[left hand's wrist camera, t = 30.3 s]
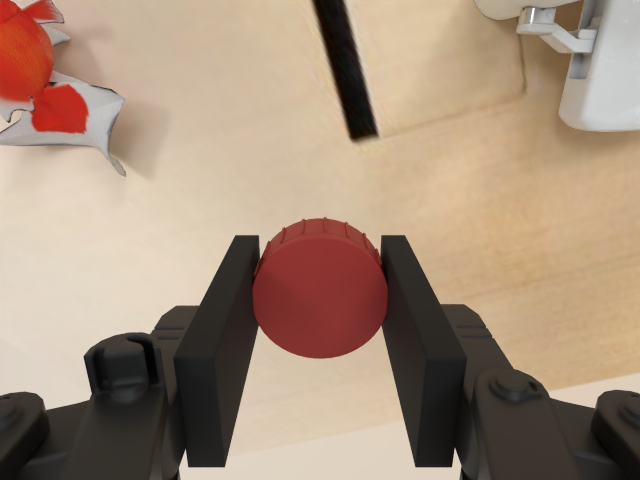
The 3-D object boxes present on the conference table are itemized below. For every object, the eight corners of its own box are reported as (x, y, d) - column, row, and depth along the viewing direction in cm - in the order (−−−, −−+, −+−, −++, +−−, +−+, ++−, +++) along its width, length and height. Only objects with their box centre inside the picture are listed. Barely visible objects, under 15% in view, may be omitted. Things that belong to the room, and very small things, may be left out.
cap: (374, 206, 14) (381, 223, 12) (390, 321, 15) (398, 349, 14) (244, 227, 14) (234, 247, 12) (272, 338, 16) (266, 368, 14)
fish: (92, -60, 30) (-17, 0, 23) (188, 136, 41) (132, 212, 35) (-22, -38, 33) (-143, 20, 27) (96, 137, 44) (30, 207, 38)
